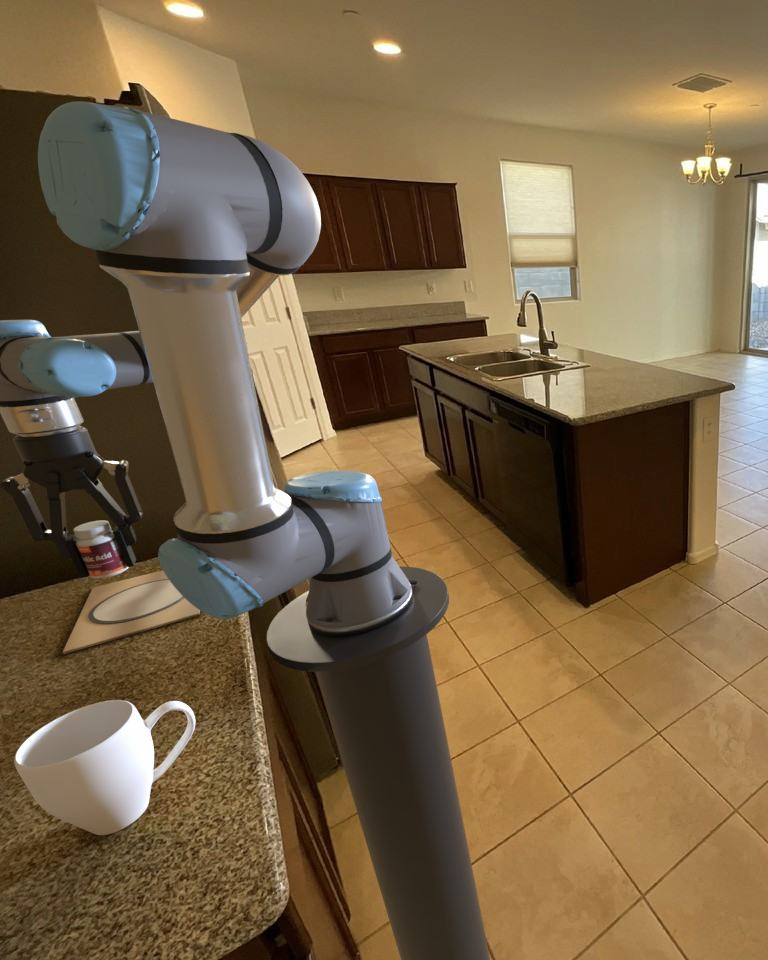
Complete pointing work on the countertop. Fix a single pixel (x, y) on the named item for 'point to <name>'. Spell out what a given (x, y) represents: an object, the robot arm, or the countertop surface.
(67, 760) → the mug
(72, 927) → the countertop surface
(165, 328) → the robot arm
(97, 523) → the pill bottle
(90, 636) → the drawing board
